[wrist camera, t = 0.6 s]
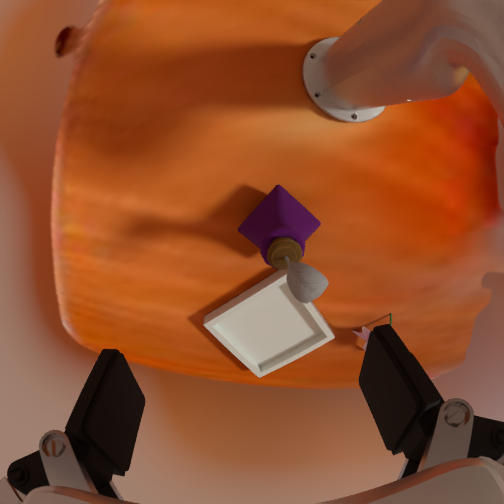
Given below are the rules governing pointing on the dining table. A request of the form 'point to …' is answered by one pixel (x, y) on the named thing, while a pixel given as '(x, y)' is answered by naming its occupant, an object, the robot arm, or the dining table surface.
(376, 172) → the dining table surface
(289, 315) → the tray
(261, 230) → the perfume bottle
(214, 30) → the dining table surface
